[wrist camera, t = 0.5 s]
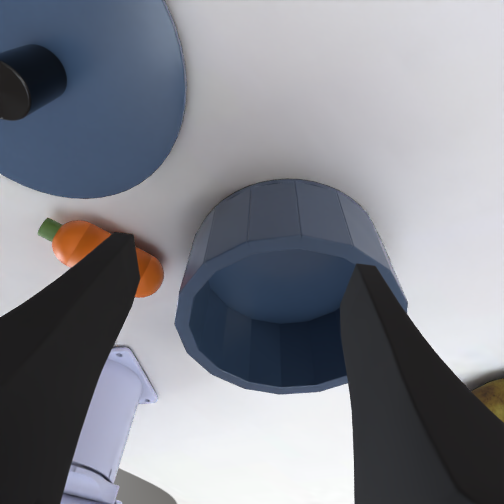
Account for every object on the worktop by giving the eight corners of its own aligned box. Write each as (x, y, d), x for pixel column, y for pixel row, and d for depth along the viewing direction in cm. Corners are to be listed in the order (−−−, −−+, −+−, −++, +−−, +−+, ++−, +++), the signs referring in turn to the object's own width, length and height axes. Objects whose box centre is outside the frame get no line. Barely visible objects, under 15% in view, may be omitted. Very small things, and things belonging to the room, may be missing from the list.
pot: (216, 331, 30) (206, 399, 25) (169, 194, 22) (143, 253, 18) (376, 317, 28) (398, 387, 23) (383, 164, 21) (417, 220, 16)
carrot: (175, 257, 25) (166, 286, 23) (156, 283, 27) (145, 313, 25) (61, 196, 23) (37, 222, 20) (47, 228, 24) (22, 256, 22)
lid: (6, 203, 23) (-43, 246, 20) (-178, -81, 15) (-319, -99, 12) (216, 173, 22) (205, 214, 18) (132, -167, 14) (81, -220, 10)
